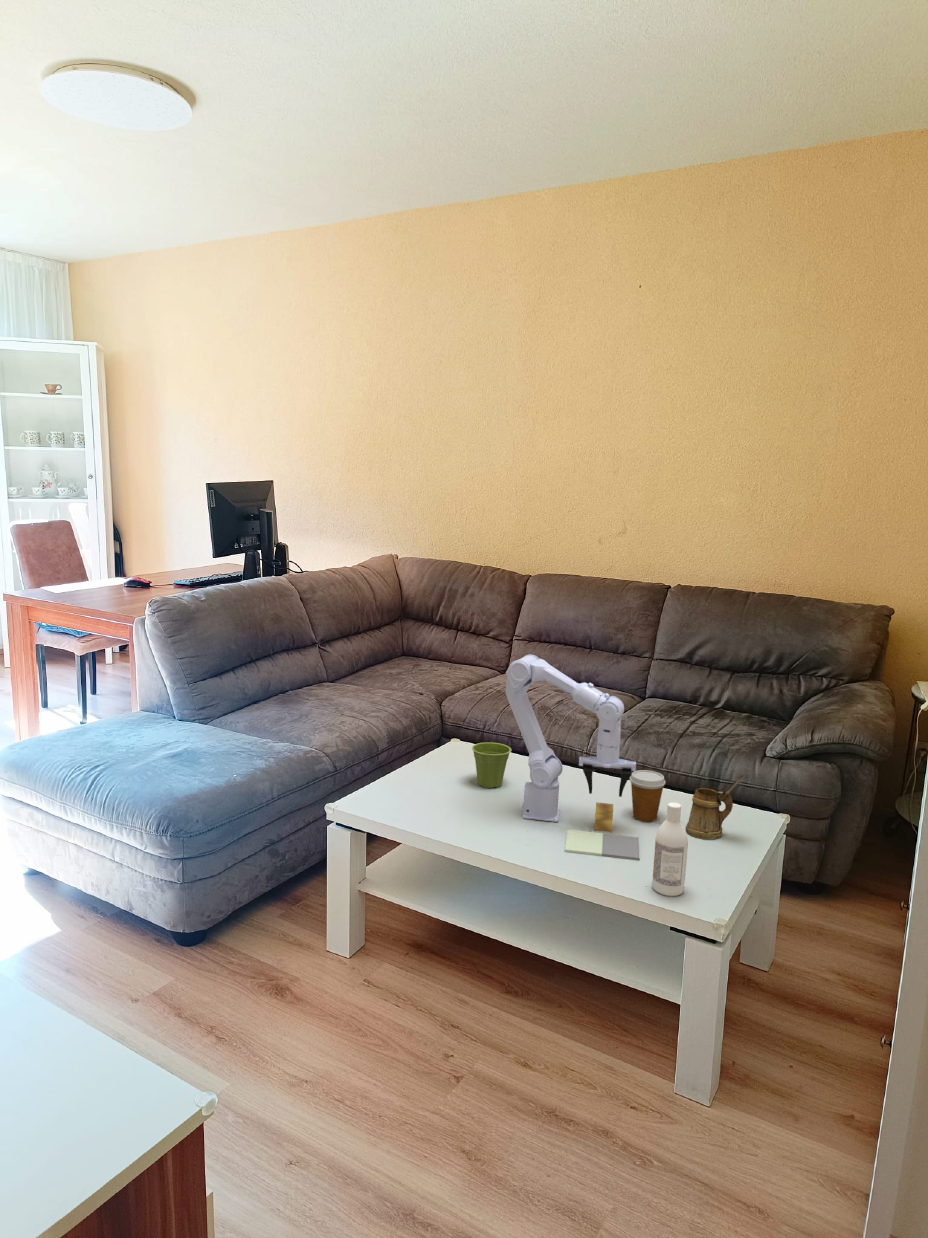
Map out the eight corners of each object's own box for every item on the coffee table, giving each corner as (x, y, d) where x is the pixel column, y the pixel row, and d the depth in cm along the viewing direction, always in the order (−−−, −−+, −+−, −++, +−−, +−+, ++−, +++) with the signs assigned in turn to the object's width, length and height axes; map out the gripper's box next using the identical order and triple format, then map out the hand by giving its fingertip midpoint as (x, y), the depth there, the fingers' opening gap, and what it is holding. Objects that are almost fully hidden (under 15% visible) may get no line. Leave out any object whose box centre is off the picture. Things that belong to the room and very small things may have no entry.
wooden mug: (732, 848, 202) (739, 780, 199) (680, 833, 210) (686, 767, 207) (743, 836, 209) (749, 770, 206) (692, 822, 217) (697, 759, 214)
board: (564, 851, 197) (564, 849, 197) (567, 831, 208) (567, 829, 208) (639, 860, 194) (639, 858, 193) (638, 839, 205) (638, 837, 205)
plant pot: (510, 792, 234) (512, 755, 233) (470, 791, 234) (471, 754, 233) (509, 778, 246) (510, 742, 244) (470, 776, 246) (471, 741, 244)
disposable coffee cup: (663, 826, 214) (666, 783, 212) (627, 822, 216) (629, 779, 214) (661, 812, 223) (665, 771, 221) (627, 809, 225) (629, 768, 223)
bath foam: (660, 878, 185) (667, 796, 181) (689, 889, 180) (696, 804, 177) (646, 889, 179) (652, 804, 176) (675, 900, 175) (682, 813, 172)
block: (594, 830, 210) (595, 808, 209) (594, 823, 214) (596, 802, 213) (611, 832, 209) (613, 810, 208) (611, 825, 213) (613, 804, 212)
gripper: (579, 746, 205) (576, 796, 208) (637, 751, 203) (633, 802, 205) (581, 738, 212) (578, 787, 214) (636, 743, 210) (633, 792, 212)
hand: (605, 794), depth 210 cm, fingers open, 7 cm apart
